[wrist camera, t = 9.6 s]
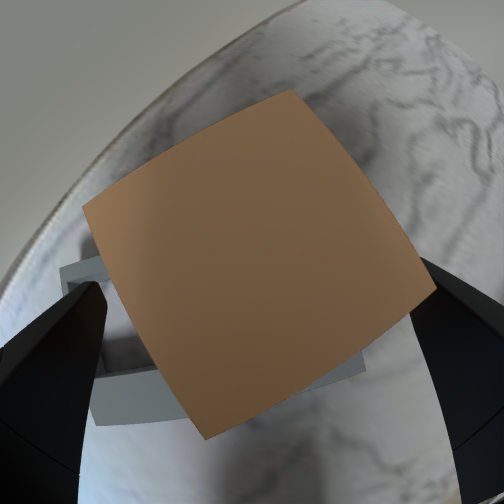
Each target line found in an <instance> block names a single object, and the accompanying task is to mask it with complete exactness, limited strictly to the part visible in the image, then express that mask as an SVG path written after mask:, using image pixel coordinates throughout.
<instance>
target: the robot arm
mask: <svg viewBox="0 0 504 504" xmlns="http://www.w3.org/2000/svg"><path fill="white" fill-rule="evenodd" d="M420 259H421V260H422V262H423V264H424V266H425V267H426V269H427V271H428V273H429V274H430V276H431V278H432V280H433V282H434V283H435V285H436V287H437V289H436V290H434V291H433V292H432V293H431V294H430V295H429V296H428V297H427V298H426V299H424V300H423V301H422V302H421V303H420V304H419V305H418V306H416V307H415V308H414V309H413V310H412V311H410V312H409V314H410V317H411V321H412V324H413V327H414V331H415V333H416V336H417V339H418V341H419V344H420V347H421V349H422V352H423V355H424V358H425V360H426V363H427V366H428V369H429V372H430V375H431V378H432V381H433V384H434V387H435V390H436V393H437V397H438V400H439V403H440V406H441V410H442V413H443V417H444V421H445V424H446V428H447V432H448V436H449V440H450V444H451V448H452V451H453V452H452V453H453V458H454V462H455V467H456V472H457V477H458V483H459V488H460V494H461V501H462V504H478V503H480V502H483V501H485V500H487V499H490V498H492V497H494V496H496V495H498V494H501V493H503V492H504V306H503V305H501V304H500V303H498V302H496V301H495V300H493V299H492V298H490V297H489V296H487V295H485V294H484V293H482V292H480V291H479V290H477V289H476V288H474V287H472V286H471V285H469V284H467V283H466V282H464V281H462V280H461V279H459V278H457V277H456V276H454V275H452V274H450V273H449V272H447V271H445V270H443V269H442V268H440V267H438V266H436V265H435V264H433V263H431V262H429V261H427V260H426V259H424V258H422V257H420ZM107 309H108V306H107V301H106V299H105V297H104V294H103V292H102V290H101V288H100V285H99V283H98V282H97V281H84V282H83V283H81V284H80V285H78V286H77V287H76V288H74V289H73V290H72V291H71V292H69V293H68V294H67V295H65V296H64V297H63V298H61V299H60V300H59V301H57V302H56V303H55V304H54V305H52V306H51V307H50V308H49V309H47V310H46V311H45V312H43V313H42V314H41V315H40V316H39V317H37V318H36V319H35V320H34V321H32V322H31V323H30V324H29V325H27V326H26V327H25V328H24V329H23V330H21V331H20V332H19V333H18V334H17V335H15V336H14V337H13V338H12V339H11V340H10V341H8V342H7V343H6V344H5V345H4V347H1V348H0V504H78V488H79V477H80V476H79V474H80V465H81V456H82V448H83V441H84V434H85V427H86V421H87V415H88V410H89V404H90V399H91V394H92V389H93V384H94V379H95V375H96V370H97V366H98V362H99V357H100V353H101V347H102V340H103V334H104V327H105V321H106V315H107ZM493 504H504V497H502V498H501V499H499V500H497V501H496V502H495V503H493Z"/></svg>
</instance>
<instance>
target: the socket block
mask: <svg viewBox="0 0 504 504" xmlns="http://www.w3.org/2000/svg"><path fill="white" fill-rule="evenodd" d="M59 269H60V278H61V286H62V293H63V297H64V296H65V295H67V294H68V293H69V292H71V291H72V290H73V289H74V288H76V287H77V286H78V285H80V284H81V283H83V282H84V281H97V282H98V283H99V282H103V281H106V280H110V279H111V278H110V276H109V273H108V271H107V269H106V267H105V264H104V262H103V260H102V257H101V255H98V256H95V257H92V258H88V259H85V260H82V261H79V262H76V263H73V264H70V265H67V266H64V267H61V268H59ZM365 371H366V369H365V365H364V360H363V356H362V352H361V351H359V352H358V353H356V354H355V355H354V356H352V357H351V358H349V359H348V360H346V361H345V362H344V363H342V364H341V365H339V366H338V367H336V368H335V369H333V370H332V371H330V372H329V373H327V374H326V375H324V376H323V377H321V378H320V379H318V380H316V381H315V382H313V383H312V384H310V385H308V386H307V387H305V388H304V389H302V390H300V391H299V392H297V393H295V394H299V393H302V392H306V391H309V390H312V389H315V388H319V387H322V386H325V385H328V384H331V383H334V382H337V381H340V380H343V379H345V378H348V377H351V376H354V375H357V374H359V373H362V372H365ZM295 394H294V395H295ZM89 407H90V410H91V413H92V416H93V419H94V421H95V424H96V426H109V425H127V424H140V423H150V422H160V421H168V420H176V419H183V418H189V417H188V415H187V414H186V412H185V411H184V409H183V408H182V406H181V405H180V403H179V402H178V400H177V399H176V397H175V396H174V394H173V392H172V391H171V389H170V388H169V386H168V384H167V383H166V381H165V380H164V378H163V376H162V375H161V373H160V371H159V370H158V368H157V366H156V365H153V366H148V367H142V368H136V369H130V370H123V371H116V372H110V373H106V370H105V366H104V363H103V359H102V355H101V353H100V357H99V362H98V366H97V370H96V375H95V379H94V384H93V389H92V394H91V399H90V404H89Z"/></svg>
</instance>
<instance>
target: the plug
mask: <svg viewBox="0 0 504 504" xmlns="http://www.w3.org/2000/svg"><path fill="white" fill-rule="evenodd" d="M82 208H83V211H84V214H85V217H86V219H87V222H88V225H89V227H90V230H91V233H92V235H93V238H94V240H95V243H96V245H97V248H98V250H99V253H100V255H101V257H102V260H103V262H104V264H105V267H106V269H107V271H108V273H109V276H110V278H111V280H112V282H113V285H114V287H115V289H116V291H117V293H118V295H119V297H120V299H121V301H122V303H123V305H124V307H125V309H126V311H127V313H128V315H129V317H130V319H131V321H132V323H133V325H134V327H135V329H136V331H137V333H138V335H139V336H140V338H141V340H142V342H143V344H144V345H145V347H146V349H147V351H148V353H149V354H150V356H151V358H152V360H153V361H154V363H155V365H156V366H157V368H158V370H159V371H160V373H161V375H162V376H163V378H164V380H165V381H166V383H167V384H168V386H169V388H170V389H171V391H172V392H173V394H174V396H175V397H176V399H177V400H178V402H179V403H180V405H181V406H182V408H183V409H184V411H185V412H186V414H187V415H188V417H189V418H190V419H191V421H192V422H193V424H194V425H195V427H196V428H197V429H198V431H199V432H200V434H201V435H202V436H203V438H204V439H205V440H207V439H209V438H212V437H214V436H216V435H218V434H220V433H222V432H225V431H227V430H229V429H231V428H233V427H235V426H237V425H239V424H241V423H243V422H245V421H247V420H249V419H251V418H253V417H254V416H256V415H258V414H260V413H262V412H264V411H266V410H267V409H269V408H271V407H273V406H275V405H276V404H278V403H280V402H282V401H283V400H285V399H287V398H289V397H290V396H292V395H294V394H295V393H297V392H299V391H300V390H302V389H304V388H305V387H307V386H308V385H310V384H312V383H313V382H315V381H316V380H318V379H320V378H321V377H323V376H324V375H326V374H327V373H329V372H330V371H332V370H333V369H335V368H336V367H338V366H339V365H341V364H342V363H344V362H345V361H346V360H348V359H349V358H351V357H352V356H354V355H355V354H356V353H358V352H359V351H361V350H362V349H363V348H365V347H366V346H367V345H369V344H370V343H371V342H373V341H374V340H375V339H377V338H378V337H379V336H381V335H382V334H383V333H385V332H386V331H387V330H388V329H390V328H391V327H392V326H393V325H395V324H396V323H397V322H398V321H400V320H401V319H402V318H403V317H404V316H406V315H407V314H408V313H409V312H410V311H412V310H413V309H414V308H415V307H416V306H418V305H419V304H420V303H421V302H422V301H423V300H424V299H426V298H427V297H428V296H429V295H430V294H431V293H432V292H433V291H434V290H436V289H437V287H436V285H435V283H434V282H433V280H432V278H431V276H430V274H429V273H428V271H427V269H426V267H425V266H424V264H423V262H422V260H421V259H420V257H419V255H418V254H417V252H416V250H415V249H414V247H413V245H412V244H411V242H410V240H409V239H408V237H407V236H406V234H405V232H404V231H403V229H402V228H401V226H400V225H399V223H398V221H397V220H396V218H395V217H394V215H393V214H392V212H391V211H390V209H389V208H388V207H387V205H386V204H385V202H384V201H383V199H382V198H381V196H380V195H379V194H378V192H377V191H376V189H375V188H374V187H373V185H372V184H371V182H370V181H369V180H368V178H367V177H366V176H365V174H364V173H363V172H362V170H361V169H360V168H359V166H358V165H357V164H356V162H355V161H354V160H353V159H352V157H351V156H350V155H349V153H348V152H347V151H346V150H345V148H344V147H343V146H342V145H341V144H340V142H339V141H338V140H337V139H336V137H335V136H334V135H333V134H332V133H331V131H330V130H329V129H328V128H327V127H326V126H325V124H324V123H323V122H322V121H321V120H320V119H319V118H318V116H317V115H316V114H315V113H314V112H313V111H312V110H311V109H310V107H309V106H308V105H307V104H306V103H305V102H304V101H303V100H302V99H301V98H300V97H299V96H298V94H297V93H296V92H295V91H294V90H293V89H292V88H291V89H288V90H286V91H283V92H281V93H279V94H276V95H274V96H272V97H269V98H267V99H265V100H263V101H260V102H258V103H256V104H254V105H252V106H250V107H247V108H245V109H243V110H241V111H239V112H237V113H235V114H233V115H231V116H229V117H227V118H225V119H223V120H221V121H219V122H217V123H215V124H213V125H211V126H209V127H207V128H205V129H204V130H202V131H200V132H198V133H196V134H194V135H192V136H191V137H189V138H187V139H185V140H183V141H182V142H180V143H178V144H176V145H175V146H173V147H171V148H170V149H168V150H166V151H165V152H163V153H161V154H159V155H158V156H156V157H155V158H153V159H151V160H150V161H148V162H146V163H145V164H143V165H142V166H140V167H139V168H137V169H135V170H134V171H132V172H131V173H129V174H128V175H126V176H125V177H123V178H122V179H120V180H119V181H117V182H116V183H114V184H113V185H111V186H110V187H109V188H107V189H106V190H104V191H103V192H101V193H100V194H99V195H97V196H96V197H94V198H93V199H92V200H90V201H89V202H88V203H86V204H85V205H84V206H82Z"/></svg>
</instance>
